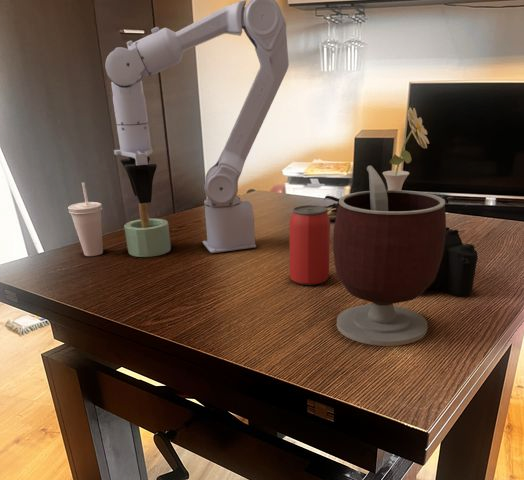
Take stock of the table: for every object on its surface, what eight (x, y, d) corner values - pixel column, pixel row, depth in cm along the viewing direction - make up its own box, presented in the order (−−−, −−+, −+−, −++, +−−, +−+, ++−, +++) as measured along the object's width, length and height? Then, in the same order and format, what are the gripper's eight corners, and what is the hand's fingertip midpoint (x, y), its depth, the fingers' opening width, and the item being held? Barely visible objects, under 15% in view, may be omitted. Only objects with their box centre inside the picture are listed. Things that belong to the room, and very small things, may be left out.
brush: (154, 244, 110) (149, 200, 106) (157, 248, 108) (151, 203, 103) (140, 246, 109) (133, 202, 105) (142, 250, 107) (135, 205, 103)
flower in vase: (396, 255, 100) (409, 111, 89) (350, 244, 108) (356, 109, 96) (435, 241, 108) (451, 106, 96) (389, 231, 116) (399, 105, 104)
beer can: (302, 289, 87) (303, 215, 81) (282, 277, 92) (281, 207, 86) (336, 281, 89) (338, 209, 84) (315, 270, 94) (316, 202, 89)
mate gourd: (451, 343, 68) (475, 182, 59) (347, 353, 67) (355, 190, 57) (404, 298, 82) (418, 162, 72) (317, 306, 80) (319, 168, 71)
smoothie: (100, 258, 105) (87, 185, 98) (71, 257, 106) (56, 185, 100) (115, 249, 110) (103, 179, 104) (86, 248, 112) (73, 179, 105)
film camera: (372, 276, 91) (376, 224, 87) (418, 267, 94) (423, 216, 90) (431, 307, 79) (439, 248, 74) (481, 295, 82) (491, 238, 78)
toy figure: (306, 229, 120) (365, 218, 124) (303, 200, 118) (364, 190, 122) (294, 225, 127) (351, 215, 130) (292, 198, 124) (349, 189, 128)
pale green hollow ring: (167, 242, 113) (164, 216, 111) (174, 253, 106) (171, 226, 104) (126, 247, 111) (122, 221, 109) (130, 259, 104) (126, 231, 101)
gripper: (107, 122, 103) (118, 194, 109) (113, 128, 90) (125, 208, 97) (143, 120, 104) (152, 190, 111) (155, 125, 92) (164, 204, 99)
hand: (142, 199), depth 104 cm, fingers open, 7 cm apart
